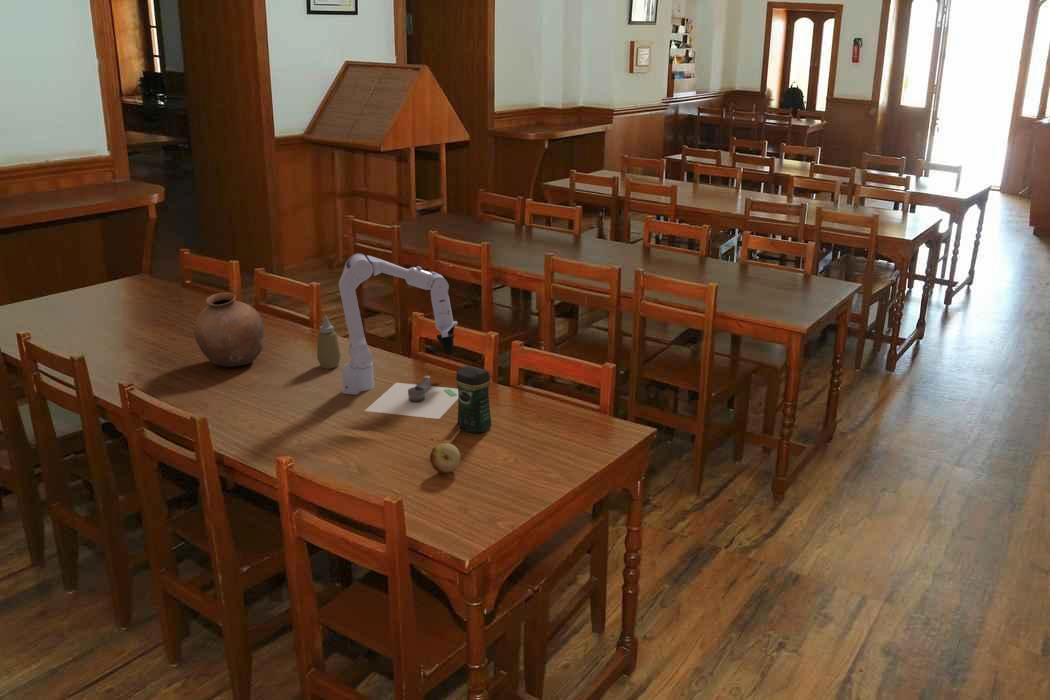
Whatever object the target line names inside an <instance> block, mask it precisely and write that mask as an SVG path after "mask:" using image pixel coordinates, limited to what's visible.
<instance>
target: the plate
mask: <svg viewBox="0 0 1050 700" xmlns="http://www.w3.org/2000/svg"><path fill="white" fill-rule="evenodd" d="M416 385H417V384H415V383H414V384H413V383H405V382H404V383H403V382H395V383H394V384H393V385H392V386H391V387H390V388H389V389H387V390H386V391H385V392H383V394H381V396H379V398H377V399H376V400H375V401H374V402H373V403H372V404H370V405H369V406H368V407H367V408H366V409H364V412H371V413H381V414H390V415H399V416H406V417H408V416H409V417H417V418H427V419H434V420H440V419H441V418H442V417H443V416H444V414H446V413H447V411H448V410H449V409H450V408H451V407H452V406H453V405H454V404H455V403H456V402H457V401H458V388H454V387H453V388H452V387H444V386H443V387H442V386H433V385H430V386H431V387H430V388H429V389H428V390H427V391H426V392H425V393H424V394H425V399H424V400H423V401H421V402H411V401H409V400H408V389H410V388H413V387H415V386H416Z"/></svg>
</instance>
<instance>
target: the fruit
mask: <svg viewBox="0 0 1050 700" xmlns="http://www.w3.org/2000/svg"><path fill="white" fill-rule="evenodd" d="M429 461H430V464H431V466H432V468H433V470H434V471H436V472H437V473H439V474H448V473H451V472H453V471H454V470H456V469H457V468H458V466H459V464H460V461H461V452H460V450H459V448H457V447H456V446H455V445H454V444H453V443H449V442H445V443H444V442H442V443H440V444H437V445H435V446H434V447H432V450H431V452H430V455H429Z"/></svg>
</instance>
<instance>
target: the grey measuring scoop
mask: <svg viewBox="0 0 1050 700" xmlns="http://www.w3.org/2000/svg"><path fill="white" fill-rule="evenodd" d="M415 385H416V386H415V387H413V388H410V389H408V400H409V401H411V402H421V401H423V400H424V399H425V394H424V393H425V392H426V391H427V390H428V389H429V388H430V387H431V386H432V385H431V375H425V376H423V379H421V380H420V381H419V383H417V384H415Z"/></svg>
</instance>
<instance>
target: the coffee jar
mask: <svg viewBox="0 0 1050 700" xmlns="http://www.w3.org/2000/svg"><path fill="white" fill-rule="evenodd" d="M455 382H456V386H457V389H458V399H457V401H458V402H457V403H458V404H457V406H458V407H457V424H458V426H459V428H460V429H462V430H464V431H467V432H470V433H473V434H478V433H483V432H487V431H488V430H489V429H490V428H491V427H492V416H491V415H492V414H491V408H490V397H489V396H490V395H489V392H490V391H489V387H490V383H491V377H490V372H489V370H486V369H483V368H479V367H476V366H472V365H469V364H466V365H464V366H460V367H459V368H458V369H457V371H456V376H455Z"/></svg>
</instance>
